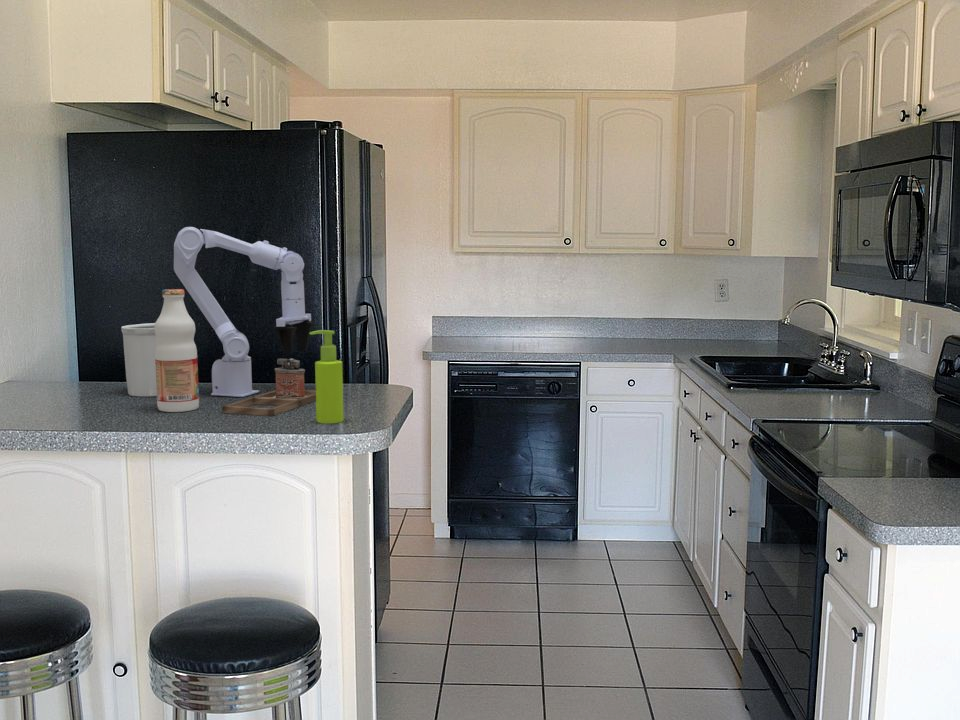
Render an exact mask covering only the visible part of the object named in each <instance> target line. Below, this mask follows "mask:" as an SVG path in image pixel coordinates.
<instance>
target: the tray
mask: <svg viewBox="0 0 960 720" xmlns="http://www.w3.org/2000/svg"><path fill="white" fill-rule="evenodd" d="M304 391H305V397H303V398H300V399H288V398H276V389H274V390H271V391H268V392H265V393H262V394H258V395H255V396H252V397H248V398H245V399H241V400H239V401H235V402H232V403H229V404H225V405H222V406H221V413H222V414H223V413H224V414H232V415H233V414H235V415H247V416H248V415H251V416H266V417H274V416H276V415H279V414H282V413H285V412H288V411H291V410H293V409H298V408H299V407H303V406H305V405H308V404H310V403H314V402H316V390H308V389H307V390H306V389H304ZM253 405H260V406H261V405H263V406H274V407H271V408H264V407H254V406H253ZM249 406H250V407H249ZM251 406H253V407H251Z"/></svg>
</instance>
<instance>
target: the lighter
mask: <svg viewBox="0 0 960 720" xmlns="http://www.w3.org/2000/svg"><path fill="white" fill-rule="evenodd" d="M276 363H277V365H281V367H275V368H274V372H275V390H276V398H288V399H300V398H303V397H305V391H304V390H305V372H306V369H304V368H300V365H301V362H300V360H297V359H294V358H289V359H288V358H277V360H276Z"/></svg>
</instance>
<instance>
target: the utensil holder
mask: <svg viewBox="0 0 960 720" xmlns="http://www.w3.org/2000/svg"><path fill="white" fill-rule="evenodd" d="M155 323H156V322H153V323H152V322H151V323H149V322H148V323H147V322H146V323H139V324H128V325H123V326H121V327H120V328H121V329H120V330H121V333H122V339H123V340H122V341H123V354H124V365H125V366H124V367H125V379H126V387H127V394H128V395H129V396H133V397H147V398H148V397H157V387H156V365H155V347H156V344H157V338H156V335H155V330H154V328H155Z"/></svg>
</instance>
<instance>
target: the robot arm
mask: <svg viewBox="0 0 960 720" xmlns="http://www.w3.org/2000/svg"><path fill="white" fill-rule="evenodd" d="M173 243H174V244H173V271H174V273H175V274H176V276H177V278H178V280H179V281H180V282H181V283H182V285H183V286H184V288H185V289H186V291H187V292H188V294H189V295H190V297H191V298H192V300H193V301H194V302H195V304H196V306H197V307H198V309H199V311H201V312H202V314H203V316H204V317H205V318H206V320H207V322H208V323H209V325H210V326H211V328H213V331H215V334H216V335H217V337H218V339H219V340H220V342H221V343H222V347H223V353H224V355H223V356H222V357H221V359H219V358H218V359H216V360H215V361H214V362H213V364H212V366H211V367H212V368H211V383H212V384H211V387H212V392H211V393H210V396H221V397H235V398H236V397H238V398H243V397H244V398H245V397H247V396H251V395H254V394H257V393H259V392H260V390H258V389H253V385H252V384H253V380H252V379H253V378H252V377H253V376H252V373H253V372H252V357H251V356H249V355H248V354H249V351H250V343H249V340H248V338H247V336H246V335H245V334H244V333H242V332H240V331H239V330H238V329H237V328H236V327H235V325H234V323H232V321H231V320H230V318H229V316H228V315H227V314H226V313H225V311H224V310H223V308H222V307H221V305H220V304H219V302H218V300H217V299H216V298H215V296H214V295H213V293H212V292H211V291H210V289H209V287H208V286H207V284H206V283H205V282H204V280H203V279H202V277H201V276H200V274H199V273H198V271H197V270H196V268H195V266H196V262H197V257H198V254H199V252H200V251H201V249H202V247H203V246H204V245H205V249H211V248H215V247H216V248H217V247H218V248H221V249H224V250H228V251H232V252H234V253H235V252H236V253H239V254H242V255H246V256H248V258H249V259H250V261H251V262H252V263H253V264H256V265H259V266H262V267H265V268H268V269H271V270H274V271H278V270H280V271H281V280H280V290H281V312H282V313H281V314H282V316H281V317H279V318H276V319H275V323H276V325H275V326H273V331H274V332H275V334H276V335H277V338H278V340H279V342H280V345H281V348H282V352H283V354H284V355H292V354H293V352H294V340H295V336H296V344H297V348H298V351H307V350H308V346H309V341H310V336H311V335H310V334H309V333H310V332H313V331H312V330H313V329H314V326H315V322H314V321H312V313H306V305H305V283H304V282H305V281H304V279H303V278H304V273H303V270H304V268H305V263H304V259H303V257H302V256H301V255H300V254H299V253H296V252H295V251H292V250H288V248H287V247H278V246H276V245H272V244H271V243H270V242H269V241H268V240H265V239H264V240H263V241H260V240H258V241H256V242H254V243H250V242H247V241H244V240H241V239H238V238H235V237H232V236H230V235H227V234H224V233H221V232H219V231H215V230H210V229H202V228H200V229H198V228H196V227H195V226H186V227H183V228H182V229H181V230H179V231H178V233H177V235H176V237H175V240H174V242H173Z"/></svg>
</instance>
